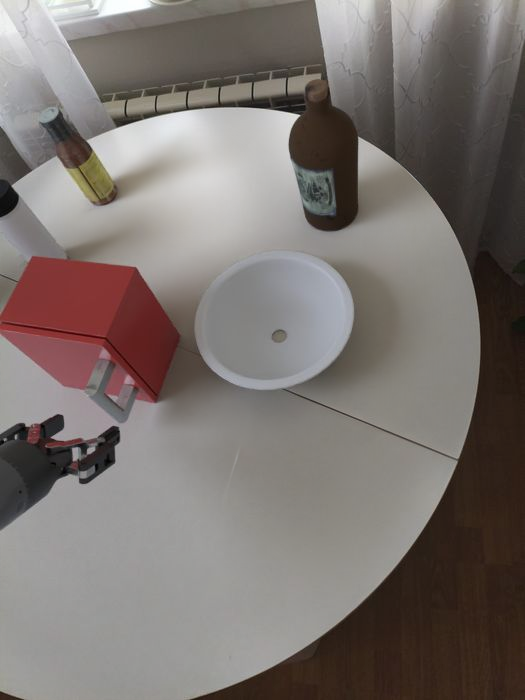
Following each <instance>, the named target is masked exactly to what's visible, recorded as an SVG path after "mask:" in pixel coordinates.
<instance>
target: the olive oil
mask: <svg viewBox="0 0 525 700" xmlns="http://www.w3.org/2000/svg"><path fill="white" fill-rule="evenodd" d="M304 92H305V93H304V94H305V96H304V99H305V104H306V109H305V110H304V111H303V112H302V113H301V114H300V115H299V116H298V117H297V118H296V120H295V121H294V123H293V124H292V126H291V128H290V131H289V137H288V145H287V146H288V153H289V156H290V157H289V159H290V162H291V165H292V168H293V170H294V171H293V172H294V175H295V178H296V184H297V189H298V191H299V195H300V199H301V203H302V208H303V213H304V217H305V220H306V221H307V223H308V224H309V225H310V226H311V227H312V228H314V229H316V230H319V231H323V232H335V231H339V230H342V229H344V228H346V227H348V226H349V225H351V224H352V223H353V221H355V219H356V218H357V216H358V213H359V134H358V130H357V127H356V125H355V122H354V120H353V119H352V118H351V116H350V115H349V114H348V113H346V111H344V110H342V109H340V108H339V107H337V106H334V105H332V104H331V97H330V91H329V85H328V82H327V81H326V80H325V79H322V78H315V79H312V80H310V81H308V82H307V83H306V84H305V85H304Z"/></svg>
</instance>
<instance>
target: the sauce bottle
mask: <svg viewBox="0 0 525 700" xmlns="http://www.w3.org/2000/svg"><path fill="white" fill-rule="evenodd" d="M37 120H38V122H39V124H40V125H41V127H42V128H44V129H45V130H46V132H47V133H48V134H49V136H50V138H51V140H52V149H53V151H54V154H55V156H56V157H57V158H58V160H59V161H60V163H61V164H62V166H63V168H64V169H65V170H66V172H67V173H68V174H69V176H70V177H71V179H72V180H73V181H74V183H75V184H76V185H77V187H78V188H79V190H80V191H81V192H82V194H83V195H84V197H85V198H86V199H87V200H88V201H89V202H90V203H91V204H92V205H94V206H104V205H106V204H109V203H110V202H111V201H113V199H114V198H115V197H116V195H117V186H116V184H115V183H114V180H113V178H112V176H111V175H110V174H109V172H108V171H107V169H106V167H105V166H104V164H103V163H102V161H101V159H100V158H99V156H98V155H97V153H96V152H95V151H94V150H95V149H93V147H92V146H91V144H90V143H89V142H88V141H87V140H86V139H84V138H83V137H82V136H81V135H79V134H78V132H77V131H75V130H74V129H73V128H72V127H71V125H69V124H68V122H67V120H66V118H65V117H64V114H63V112H62V111H61V110H60V108H59V107H57V106H48V107H46V108H44V109H43V110H41V112H39V114H38V117H37Z"/></svg>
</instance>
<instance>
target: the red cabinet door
mask: <svg viewBox="0 0 525 700" xmlns="http://www.w3.org/2000/svg"><path fill="white" fill-rule="evenodd" d="M0 335H1V336H2V337H3V338H4V339H6V341H8V342H9V343H10V344H12V345H13V346H14V347H16V349H18V350H19V351H20V352H21V353H23V354H24V355H25V356H26V357H28V358H29V359H30V360H31V361H32V362H33V363H35V364H36V365H37V366H39V367H40V368H41V369H42V370H43V371H44V372H46V373H47V374H48V375H49V376H50V377H52V378H53V379H54V380H55V381H57V382H58V383H59V384H60V385H61V386H63V387H67V388H71V389H77V390H83V391H84V393H85V395H86V396H87V398H89V399H90V400H91V401H92V402H93V403H95V404H96V405H97V406H98V407H99V408H101V409H102V410H103V411H104V412H105V413H106V414H108V415H109V416H110V417H111V418H112V419H113V420H115V421H116V422H117V423H118V424H124V423H126V422H127V421H128V419H129V416H130V414H131V411H132V409H133V406H134V403H135V401H141V402H147V403H151V404H152V403H153V404H156V403H157V401H158V397H159V396H156V395H155V394H154V393H153V392H152V391H151V390H150V389H149V387H148V386H147V385H146V384H145V383H144V382H143V381H142V380H141V379H140V377H139V376H138V375H137V374H136V373H135V372H134V371H133V370H132V369H131V367H130V366H129V365H128V364H127V363H126V362H125V361H124V360H123V358H122V357H121V356H120V355H119V354H118V353H117V352H116V351H115V350H114V348H113V347H112V346H111V345H110V344H109V343H108V342H107V341H106V340H105V339H100V338H93V337H86V336H80V335H73V334H67V333H60V332H54V331H47V330H41V329H34V328H28V327H21V326H15V325H8V324H2V323H0ZM110 396H115V397H117V398H116V399H117V400H116V401H114V400H113V399H112V398H111V397H110Z"/></svg>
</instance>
